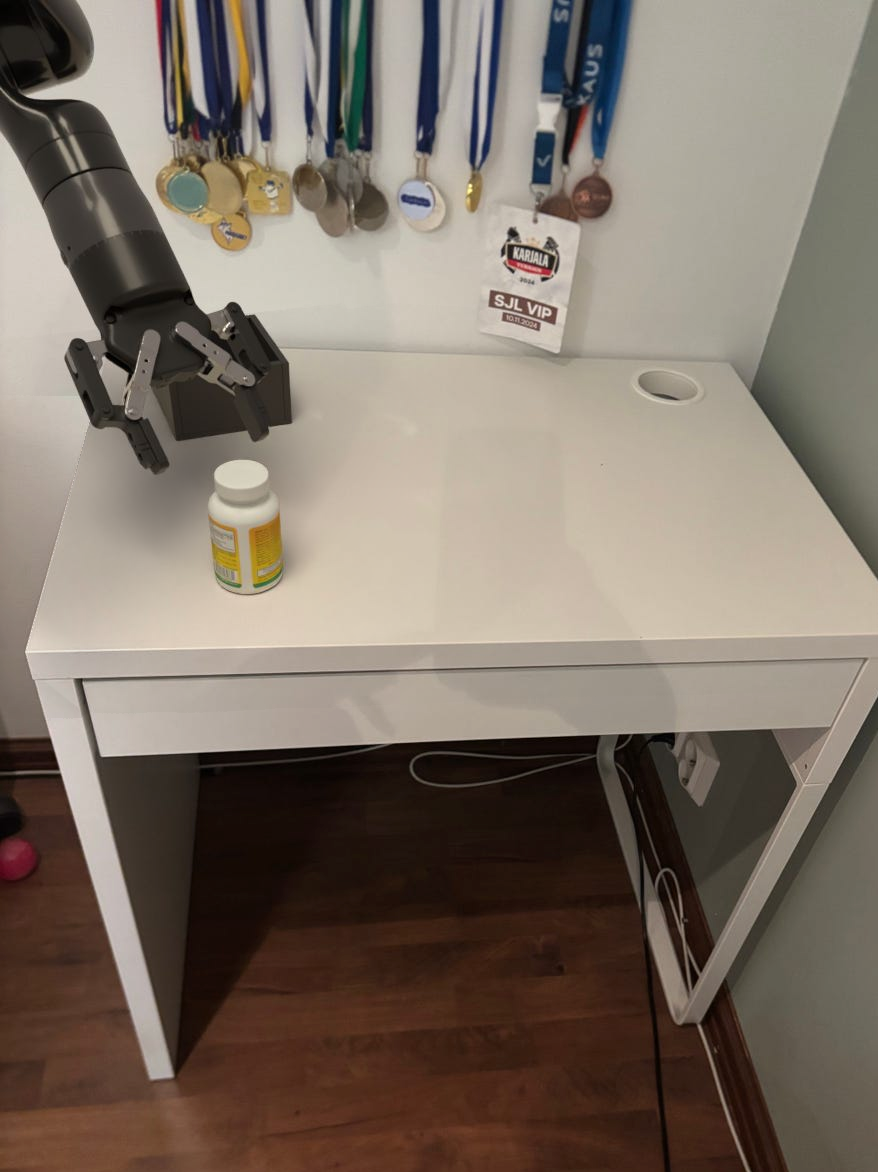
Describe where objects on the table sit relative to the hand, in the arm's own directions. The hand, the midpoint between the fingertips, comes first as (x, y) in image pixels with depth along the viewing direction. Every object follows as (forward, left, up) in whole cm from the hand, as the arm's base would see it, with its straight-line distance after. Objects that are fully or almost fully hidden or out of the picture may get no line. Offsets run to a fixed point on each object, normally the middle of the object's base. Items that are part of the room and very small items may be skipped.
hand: (214, 454), depth 73 cm
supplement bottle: (+1, -4, -10) cm, 10 cm away
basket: (+6, +24, -9) cm, 27 cm away
